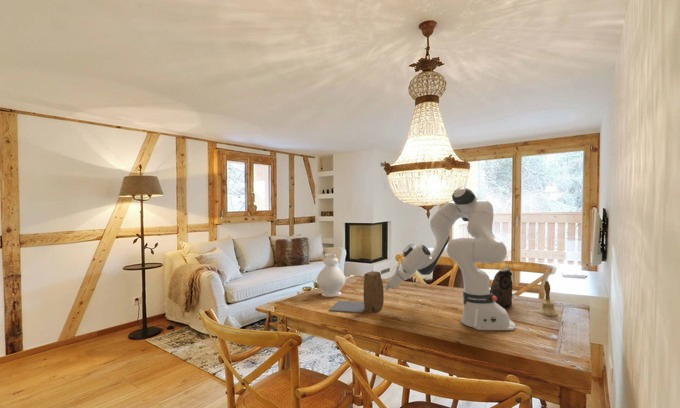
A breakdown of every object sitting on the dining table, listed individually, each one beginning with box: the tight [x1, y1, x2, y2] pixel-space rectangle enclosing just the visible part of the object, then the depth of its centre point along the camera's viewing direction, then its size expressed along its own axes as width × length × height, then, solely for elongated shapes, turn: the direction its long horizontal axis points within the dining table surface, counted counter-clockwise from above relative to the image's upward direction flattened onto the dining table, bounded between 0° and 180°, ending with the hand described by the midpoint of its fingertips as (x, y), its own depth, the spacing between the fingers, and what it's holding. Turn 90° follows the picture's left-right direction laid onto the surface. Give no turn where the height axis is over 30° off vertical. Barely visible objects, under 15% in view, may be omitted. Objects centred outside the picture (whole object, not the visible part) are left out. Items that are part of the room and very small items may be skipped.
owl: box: [490, 266, 513, 310], centre depth 183 cm, size 13×13×20 cm
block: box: [363, 270, 385, 313], centre depth 181 cm, size 11×8×20 cm
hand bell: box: [538, 280, 559, 317], centre depth 169 cm, size 8×8×16 cm
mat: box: [328, 300, 366, 314], centre depth 187 cm, size 18×18×1 cm
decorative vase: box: [316, 253, 346, 298], centre depth 215 cm, size 18×18×25 cm
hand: (386, 288), depth 179 cm, fingers closed
